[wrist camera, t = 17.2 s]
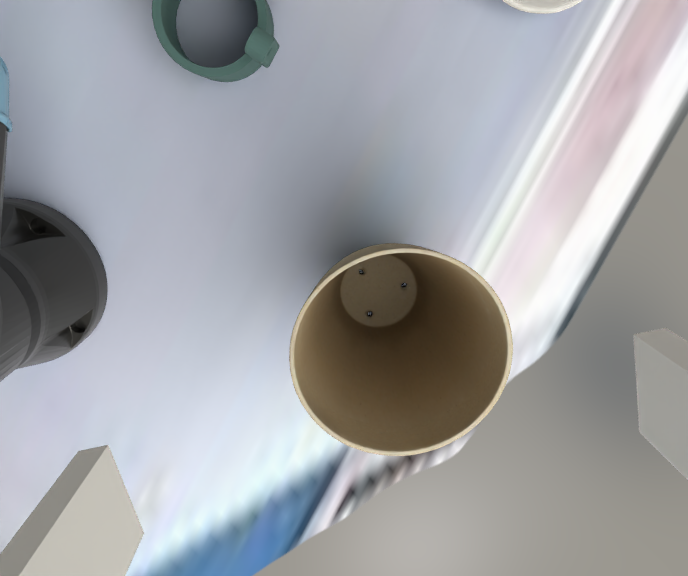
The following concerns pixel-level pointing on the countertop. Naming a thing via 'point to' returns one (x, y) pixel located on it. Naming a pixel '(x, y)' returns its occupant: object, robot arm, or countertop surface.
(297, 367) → the plant pot
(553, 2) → the spoon rest
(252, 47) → the bracket
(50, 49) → the countertop surface
